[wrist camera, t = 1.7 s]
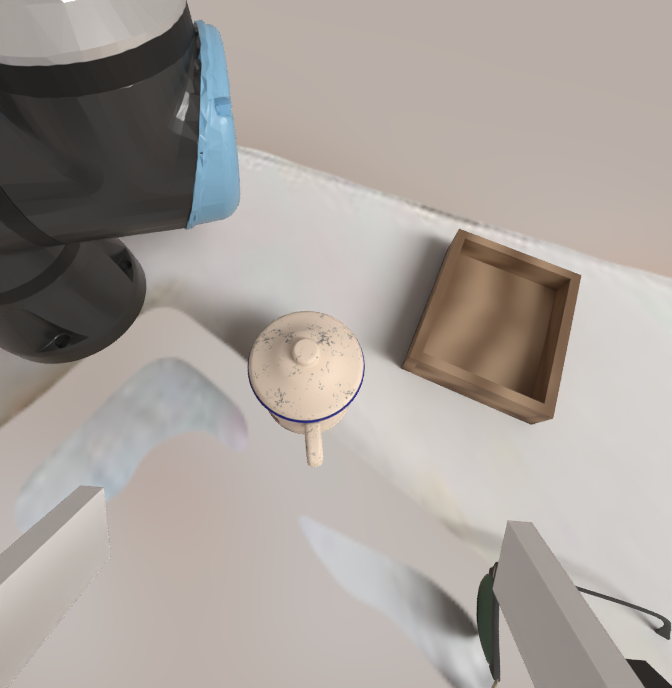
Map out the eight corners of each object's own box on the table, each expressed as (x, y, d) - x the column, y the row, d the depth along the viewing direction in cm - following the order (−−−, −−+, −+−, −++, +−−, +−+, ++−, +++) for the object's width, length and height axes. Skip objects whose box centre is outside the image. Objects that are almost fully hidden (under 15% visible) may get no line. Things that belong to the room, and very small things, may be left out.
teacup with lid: (260, 353, 37) (238, 297, 26) (347, 345, 37) (360, 288, 27) (265, 475, 32) (241, 469, 21) (363, 463, 33) (387, 452, 22)
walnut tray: (401, 368, 37) (409, 357, 34) (448, 248, 43) (459, 228, 40) (531, 424, 35) (553, 418, 32) (560, 291, 42) (581, 275, 38)
